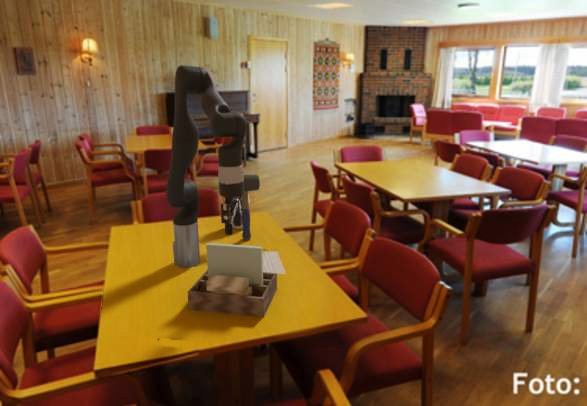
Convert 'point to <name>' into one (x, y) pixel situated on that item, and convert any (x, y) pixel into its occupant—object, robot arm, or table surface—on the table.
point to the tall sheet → (235, 261)
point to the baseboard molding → (272, 263)
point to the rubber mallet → (249, 185)
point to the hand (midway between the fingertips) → (233, 230)
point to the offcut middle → (247, 293)
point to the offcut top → (227, 284)
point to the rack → (234, 298)
